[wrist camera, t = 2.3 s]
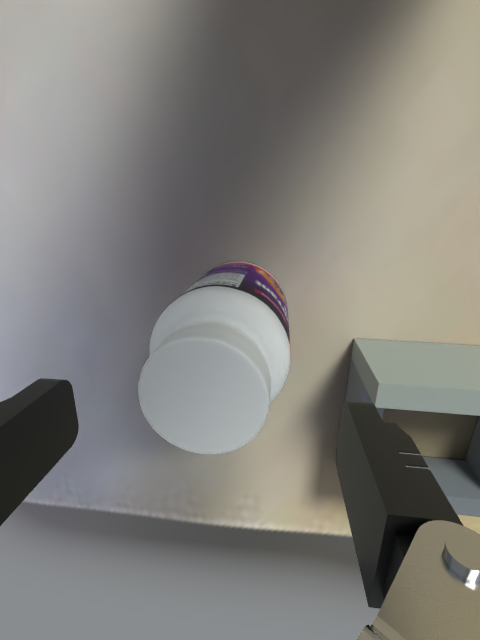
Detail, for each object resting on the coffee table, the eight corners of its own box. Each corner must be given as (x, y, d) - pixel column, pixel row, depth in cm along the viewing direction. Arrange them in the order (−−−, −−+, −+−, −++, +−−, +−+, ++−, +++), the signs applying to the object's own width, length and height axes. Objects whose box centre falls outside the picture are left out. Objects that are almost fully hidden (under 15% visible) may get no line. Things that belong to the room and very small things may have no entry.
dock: (353, 338, 18) (378, 383, 14) (523, 348, 17) (613, 399, 13) (336, 463, 21) (351, 535, 17) (480, 477, 20) (540, 558, 16)
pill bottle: (297, 338, 19) (312, 461, 10) (210, 357, 20) (151, 485, 11) (273, 247, 17) (265, 291, 8) (181, 273, 18) (83, 338, 9)
